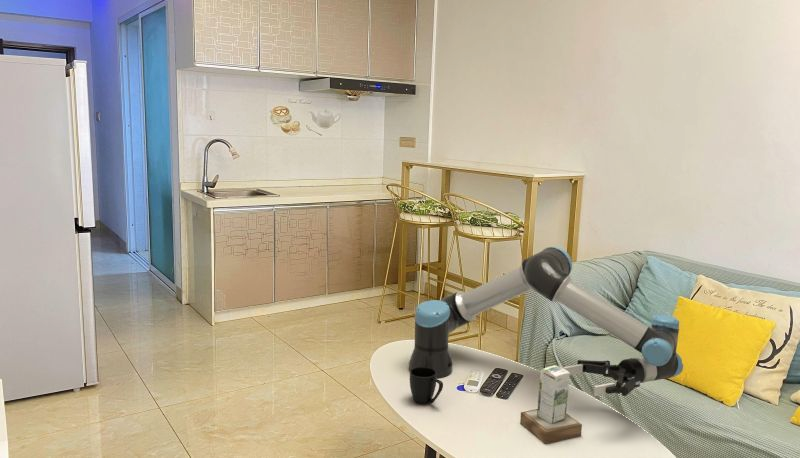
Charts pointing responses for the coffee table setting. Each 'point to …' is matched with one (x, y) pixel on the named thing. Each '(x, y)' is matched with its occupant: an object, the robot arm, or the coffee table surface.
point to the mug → (424, 385)
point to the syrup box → (553, 394)
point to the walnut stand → (550, 427)
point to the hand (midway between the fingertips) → (578, 381)
